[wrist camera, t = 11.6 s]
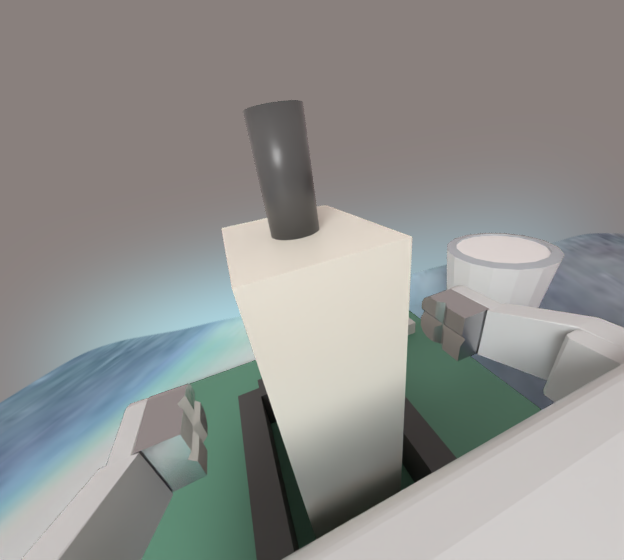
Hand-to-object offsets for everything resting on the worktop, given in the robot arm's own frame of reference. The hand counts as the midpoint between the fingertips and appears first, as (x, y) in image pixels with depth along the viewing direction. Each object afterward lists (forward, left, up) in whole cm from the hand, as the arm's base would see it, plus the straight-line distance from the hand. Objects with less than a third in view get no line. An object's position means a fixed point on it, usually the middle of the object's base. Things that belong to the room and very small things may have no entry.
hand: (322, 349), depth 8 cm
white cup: (+16, +6, -9) cm, 20 cm away
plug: (0, +1, -8) cm, 8 cm away
